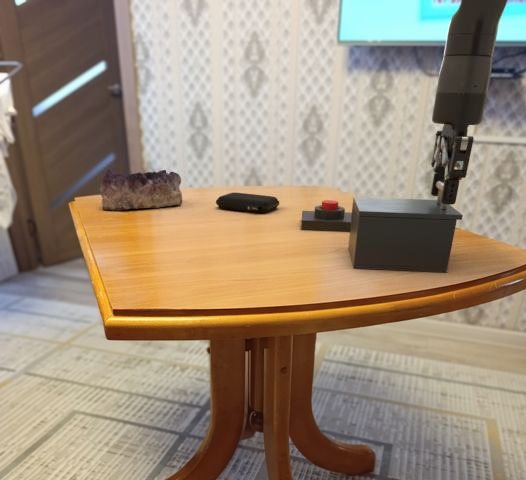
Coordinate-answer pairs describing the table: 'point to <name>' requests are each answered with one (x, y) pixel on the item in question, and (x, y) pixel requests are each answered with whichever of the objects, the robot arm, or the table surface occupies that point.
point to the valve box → (400, 243)
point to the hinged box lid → (407, 207)
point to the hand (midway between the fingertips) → (442, 199)
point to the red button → (330, 205)
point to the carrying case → (247, 202)
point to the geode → (140, 190)
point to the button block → (326, 220)
